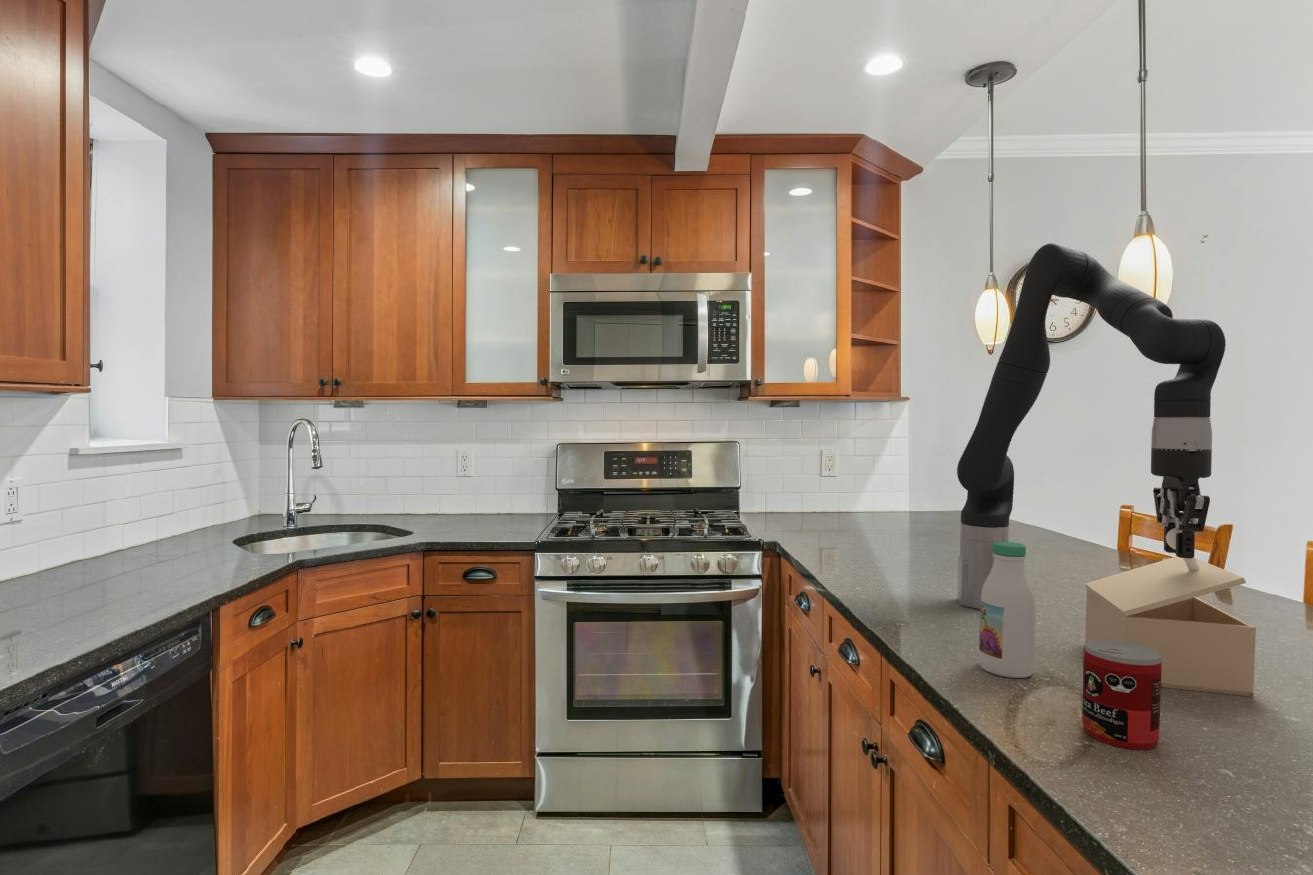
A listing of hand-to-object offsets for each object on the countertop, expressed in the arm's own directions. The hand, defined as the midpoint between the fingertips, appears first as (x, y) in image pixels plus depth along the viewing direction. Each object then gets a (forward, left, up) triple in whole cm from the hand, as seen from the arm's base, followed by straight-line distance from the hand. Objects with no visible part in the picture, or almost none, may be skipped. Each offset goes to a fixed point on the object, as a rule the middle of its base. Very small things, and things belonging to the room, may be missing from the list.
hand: (1178, 554), depth 106 cm
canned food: (-17, -29, -19) cm, 38 cm away
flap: (-3, 0, -5) cm, 6 cm away
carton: (-2, 0, -18) cm, 19 cm away
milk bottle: (-26, -9, -19) cm, 33 cm away
